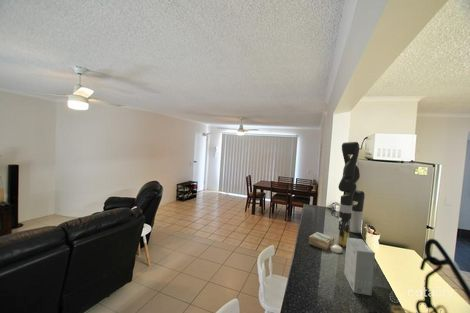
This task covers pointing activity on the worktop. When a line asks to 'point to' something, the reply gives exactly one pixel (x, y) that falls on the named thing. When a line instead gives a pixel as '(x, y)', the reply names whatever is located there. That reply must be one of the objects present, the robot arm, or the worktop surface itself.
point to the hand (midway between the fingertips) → (343, 234)
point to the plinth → (321, 240)
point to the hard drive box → (359, 266)
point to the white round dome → (335, 248)
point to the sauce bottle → (343, 239)
